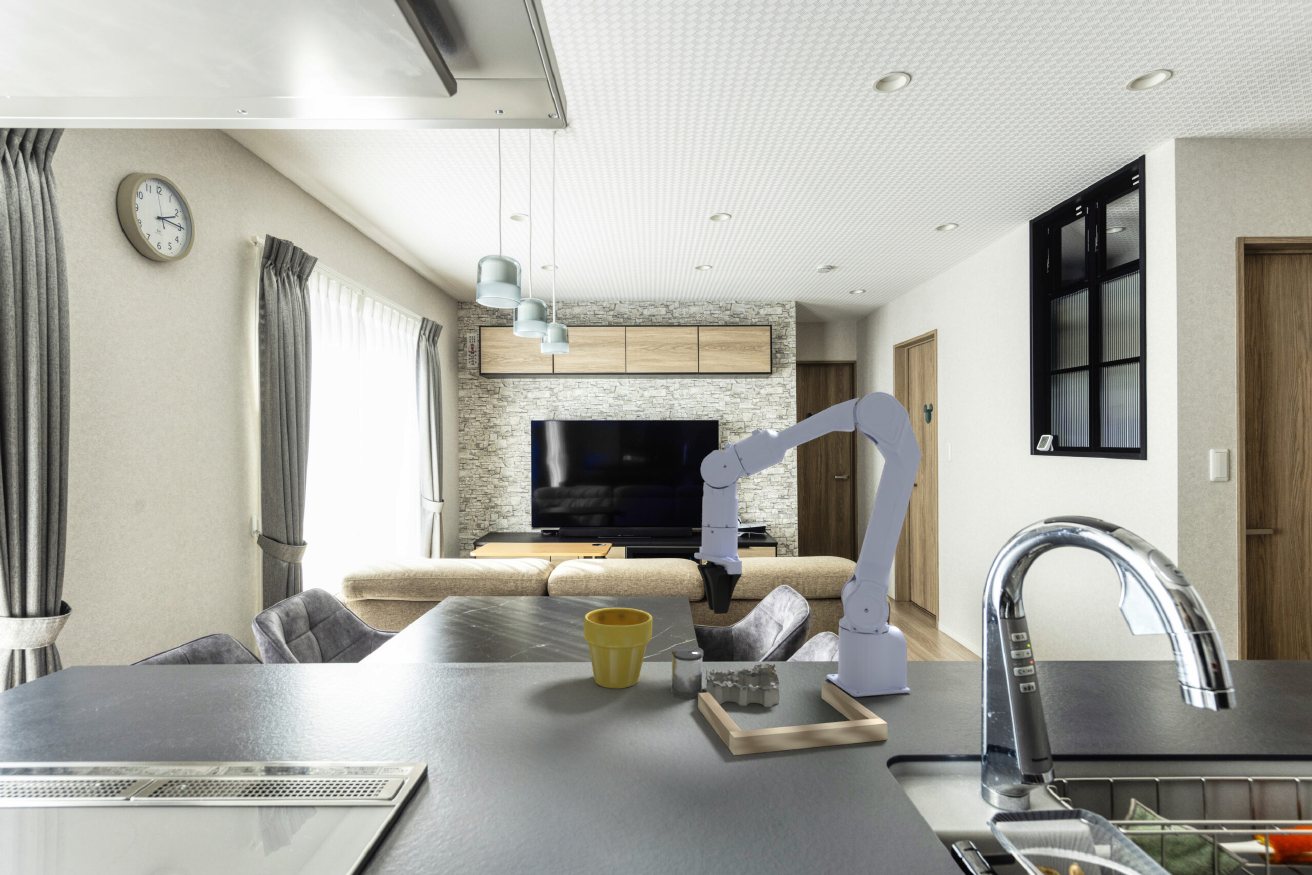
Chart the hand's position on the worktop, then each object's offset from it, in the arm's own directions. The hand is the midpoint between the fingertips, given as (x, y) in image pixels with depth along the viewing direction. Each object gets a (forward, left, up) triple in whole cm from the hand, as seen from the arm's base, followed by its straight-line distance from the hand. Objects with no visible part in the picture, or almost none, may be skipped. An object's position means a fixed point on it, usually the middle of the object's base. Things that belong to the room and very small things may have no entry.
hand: (718, 611), depth 100 cm
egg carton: (0, +11, -10) cm, 15 cm away
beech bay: (-2, +20, -9) cm, 22 cm away
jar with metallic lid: (+8, +8, -9) cm, 14 cm away
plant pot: (+17, +2, -10) cm, 19 cm away
